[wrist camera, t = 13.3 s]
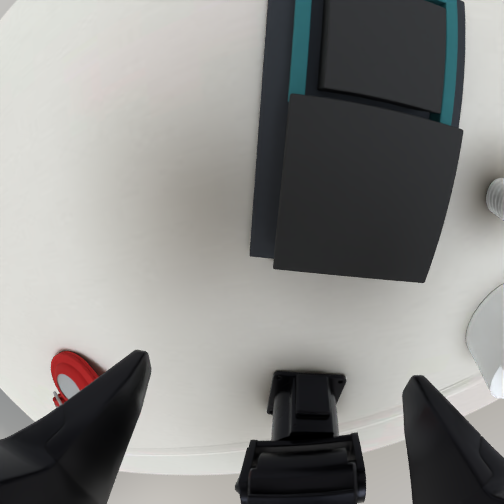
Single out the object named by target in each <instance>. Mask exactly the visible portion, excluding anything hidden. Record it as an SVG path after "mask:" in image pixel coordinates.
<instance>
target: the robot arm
mask: <svg viewBox="0 0 504 504" xmlns="http://www.w3.org/2000/svg"><path fill="white" fill-rule="evenodd" d="M150 375H151V364H150V360H149V355H148V353H147V352H146V351H141V350H135V351H133V352H132V353H130V354H129V355H128V356H126V357H125V358H124V359H122V360H121V361H120V362H118V363H117V364H116V365H114V366H113V367H112V368H110V369H109V370H108V371H106V372H105V373H103V374H102V375H101V376H99V377H98V378H97V379H95V380H94V381H93V382H91V383H90V384H89V385H87V386H86V387H85V388H83V389H82V390H80V391H79V392H78V393H76V394H75V395H74V396H72V397H71V398H70V399H68V400H67V401H66V402H64V404H61V405H60V406H59V407H57V408H56V409H54V410H53V411H52V412H50V413H49V414H47V415H46V416H44V417H43V418H41V419H39V420H38V421H36V422H34V423H33V424H31V425H29V426H27V427H26V428H24V429H22V430H20V431H18V432H17V433H15V434H13V435H11V436H9V437H7V438H5V439H1V440H0V504H107V501H108V499H109V496H110V492H111V490H112V487H113V484H114V482H115V479H116V476H117V473H118V471H119V468H120V465H121V462H122V460H123V457H124V454H125V452H126V449H127V446H128V444H129V441H130V439H131V436H132V433H133V431H134V428H135V426H136V423H137V420H138V418H139V415H140V412H141V409H142V406H143V402H144V398H145V394H146V390H147V386H148V383H149V379H150ZM278 376H280V377H278ZM345 383H346V377H345V376H344V375H330V374H311V373H296V372H283V371H277V372H275V373H274V374H273V380H272V385H271V391H270V396H269V402H268V407H267V413H268V414H271V415H273V423H272V437H271V441H258V440H251V441H250V444H249V448H247V451H246V455H245V458H244V462H243V466H242V470H241V473H240V476H239V478H238V481H237V482H236V485H235V490H236V491H237V492H238V493H239V494H240V499H241V504H357V503H362V502H364V500H365V495H366V474H365V467H364V461H363V456H362V451H361V446H360V441H359V437H358V432H357V433H351V434H350V435H342V436H339V429H338V418H337V408H336V404H337V401H338V399H339V397H340V395H341V392H342V390H343V388H344V385H345ZM402 398H403V413H404V431H405V439H406V446H407V454H408V461H409V469H410V479H411V488H412V500H413V504H504V458H503V457H502V456H501V455H500V454H499V453H498V452H497V451H496V450H495V449H494V448H493V447H492V446H491V445H490V444H489V443H488V442H487V441H486V440H485V439H484V438H483V437H482V436H481V435H480V434H479V432H478V431H477V430H475V428H474V427H473V426H472V425H471V424H470V423H469V422H468V421H467V420H466V419H465V418H464V417H463V416H462V415H461V414H460V413H459V411H458V410H457V409H456V408H455V407H454V406H453V405H452V404H451V403H450V402H449V401H448V400H447V399H446V398H445V397H444V396H443V395H442V394H441V393H440V392H439V391H438V390H437V389H436V388H435V387H434V386H433V385H432V384H431V383H430V382H429V381H428V380H427V379H426V378H425V377H424V376H422V375H414V376H412V377H411V378H410V380H409V382H408V383H407V385H406V387H405V388H404V390H403V395H402Z"/></svg>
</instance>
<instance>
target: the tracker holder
mask: <svg viewBox="0 0 504 504" xmlns="http://www.w3.org/2000/svg"><path fill="white" fill-rule="evenodd" d="M51 373H52V377H53V380H54V383H55V385H56V387H57V389H58V391H59V392H60V394H58V395H57V393H56V392H53V393H54V396H55V397H54V398H53V401H54V403H55V406H56V407H59V406H60V405H61V404H64V402H66V401H67V400H68V399H70V398H71V397H72V396H74V395H75V394H76V393H78V392H79V391H80V390H82V389H83V388H85V387H86V386H87V385H89V384H90V383H91V382H93V381H94V380H95V379H97V378H98V377H99V376H98V375H97V374H96V373H95V371H94V370H93V369H92V368H91V366H90V365H89V364H88V363H87V362H86V361H85V360H84V359H83V358H82V357H80V356H79V355H77V354H75V353H73V352H70V351H63V352H60V353H59V354H57V355H56V356H54V358H53V359H52V362H51Z"/></svg>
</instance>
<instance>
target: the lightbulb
mask: <svg viewBox="0 0 504 504" xmlns="http://www.w3.org/2000/svg"><path fill="white" fill-rule="evenodd" d="M486 202H487V206H488V208H489V210H490V211H491V212H492V213H494V214H495V215H496V216H498V217H499V218H500V219H502V220H503V221H504V178H498V179H496V180H494V181H493V182H492V183H491V185H490V186H489V188H488V191H487V196H486Z"/></svg>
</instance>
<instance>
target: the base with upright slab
mask: <svg viewBox="0 0 504 504" xmlns="http://www.w3.org/2000/svg"><path fill="white" fill-rule="evenodd" d="M466 344H467V346H468V349H469V350H470V352H471V354H472V356H473V358H474V360H475V362H476V364H477V366H478V368H479V370H480V372H481V374H482V376H483V378H484V380H485V382H486V384H487V386H488V388H489V390H490V392H491V394H492V395H493V396H494V397H496V398H504V284H502V285H500V286H499V287H498V288H496V289H495V290H494V291H493V292H492V293H490V294H489V295H488V296H487V298H486V299H485V300H484V301H483V302H482V303H481V304H480V306H479V307H478V309H477V310H476V311H475V313H474V314H473V316H472V318H471V321H470V323H469V325H468V328H467V332H466Z"/></svg>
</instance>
